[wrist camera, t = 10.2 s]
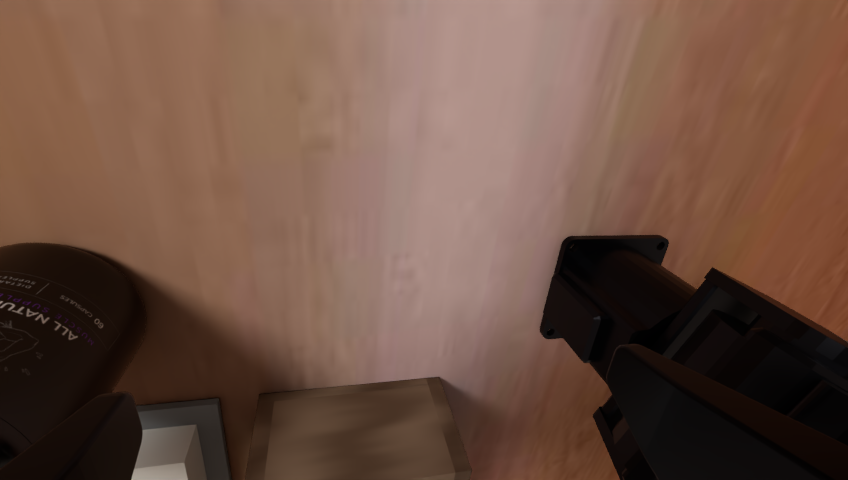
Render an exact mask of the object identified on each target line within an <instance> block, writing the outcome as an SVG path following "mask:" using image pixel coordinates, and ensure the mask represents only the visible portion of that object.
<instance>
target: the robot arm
mask: <svg viewBox="0 0 848 480" xmlns="http://www.w3.org/2000/svg"><path fill="white" fill-rule="evenodd" d="M572 244H574V246H573V247H572V248H570V246H571V245H572ZM668 244H669V242H668V240H667V239H666V238H664V237H662V236H660V235H625V236H570V237H567V238H566V239H565V240H564V241H563V242H562V245H561V248H560V252H559V256H558V260H557V264H556V268H555V272H554V275H553V277H552V280H551V284H550V288H549V292H548V296H547V300H546V304H545V307H544V311H543V313H544V314H543V318H542V322H541V326H540V333H541V334H542V335H543V337H544V338H546V339H556V338H564V340H565V341H566V342H567V343H568V345H569V346H570V347H571V348H572V349H573V351H574V352H575V353H576V354H577V356H578V357H579V358H580V359H581V360H582V361H583V362H584V363H590V364H591V365H592V367H593V368H594V369H595V370H596V371H597V373H598V374H599V375H600V376H601V377H602V379H603V380H604V381H605V382H606V383H607V385H608V387H609V389H610V391H611V393H612V395H611V397H610V398H609V399H608V400H607V401H606V403H605V404H604V405H603V406H602V407H599V408H598V409H597V410H596V412H595V413H594V414H593V418H594V420H595V422H596V424H597V427H598V429H599V431H600V434H601V436H602V438H603V441H604V443H605V445H606V448H607V450H608V452H609V455H610V457H611V459H612V462H613V464H614V466H615V469H616V471H617V473H618V475H619V478H620V480H848V342H847V341H845V340H843V339H842V338H840V337H839V336H837V335H836V334H834V333H832V332H831V331H829V330H827V329H826V328H824V327H822V326H821V325H819V324H817V323H815V322H813V321H812V320H810V319H808V318H806V317H805V316H803V315H801V314H799V313H798V312H796V311H794V310H792V309H790V308H789V307H787V306H785V305H783V304H782V303H780V302H778V301H776V300H774V299H773V298H771V297H769V296H767V295H765V294H763V293H761V292H759V291H757V290H755V289H753V288H752V287H750V286H748V285H746V284H744V283H742V282H740V281H738V280H736V279H734V278H732V277H730V276H728V275H726V274H725V273H723V272H721V271H719V270H717V269H715V268H713V267H712V268H711V270H710V271H709V272H708V273H707V275H706V276H705V277H704V278H705V279H706V280H705V281H704V282H703V283H702V285H701V286H700V287H699V288H698V289H695V288H694V287H692V286H691V285H689V284H688V283H686V282H685V281H683V280H682V279H680V278H679V277H677V276H676V275H674V274H673V273H671V272H670V271H668V270H667V269H665V268H664V267H662V266H661V263H662V261H663V258H664V255H665V253H666V250H667V248H668ZM657 245H658V246H657ZM569 248H570V249H569ZM549 329H550V330H549ZM548 330H549V331H548ZM142 435H143V430H142V425H141V421H140V418H139V414H138V411H137V408H136V404H135V401H134V398H133V396H132V395H131V393H129V392H116V393H106V394H101V395H98V396H97V397H95V398H93V399H92V400H91V401H89V402H88V403H87V404H85V405H84V406H83V407H81V408H80V409H79V410H77V411H76V412H75V413H74V414H72V415H71V416H70V417H68V418H67V419H66V420H64V421H63V422H62V423H60V424H59V425H58V426H56V427H55V428H54V429H52V430H51V431H50V432H48V433H47V434H46V435H44V436H43V437H42V438H40V439H39V440H38V441H36V442H35V443H34V444H32V445H31V446H30V447H28V448H27V449H26V450H25V451H23V452H22V453H21V454H19V455H18V456H17V457H15V458H14V459H13V460H11V461H10V462H9V463H7V464H6V465H5V466H3V467H2V468H1V469H0V480H131V479H132V475H133V471H134V468H135V464H136V461H137V457H138V453H139V450H140V446H141V442H142Z"/></svg>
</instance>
